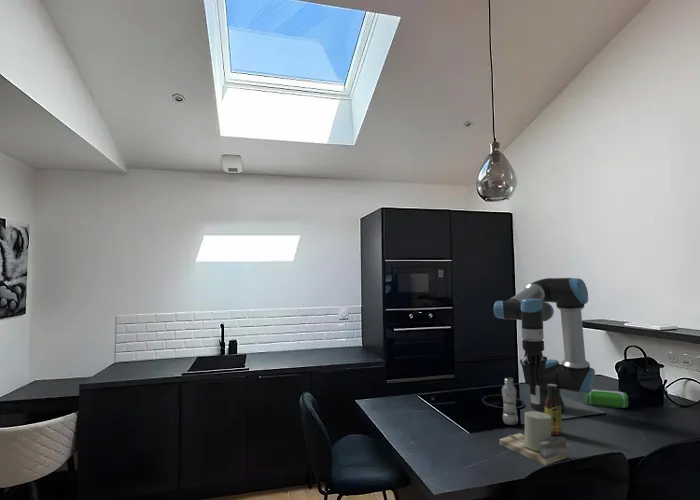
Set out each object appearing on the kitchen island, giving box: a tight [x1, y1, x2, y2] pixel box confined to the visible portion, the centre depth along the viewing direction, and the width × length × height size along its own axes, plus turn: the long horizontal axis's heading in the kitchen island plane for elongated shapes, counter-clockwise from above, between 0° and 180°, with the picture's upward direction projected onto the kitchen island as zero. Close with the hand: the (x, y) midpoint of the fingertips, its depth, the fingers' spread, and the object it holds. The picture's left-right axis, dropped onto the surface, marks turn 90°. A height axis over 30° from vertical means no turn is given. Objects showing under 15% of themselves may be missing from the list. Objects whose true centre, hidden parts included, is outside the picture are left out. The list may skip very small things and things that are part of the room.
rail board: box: [498, 432, 568, 466], centre depth 152 cm, size 20×12×7 cm, turn 29°
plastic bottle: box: [501, 377, 519, 426], centre depth 178 cm, size 6×7×20 cm
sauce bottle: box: [544, 384, 563, 436], centre depth 168 cm, size 6×6×20 cm
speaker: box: [584, 388, 629, 409], centre depth 200 cm, size 18×7×8 cm, turn 65°
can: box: [524, 410, 552, 451], centre depth 150 cm, size 9×9×12 cm
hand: (535, 403), depth 150 cm, fingers closed
